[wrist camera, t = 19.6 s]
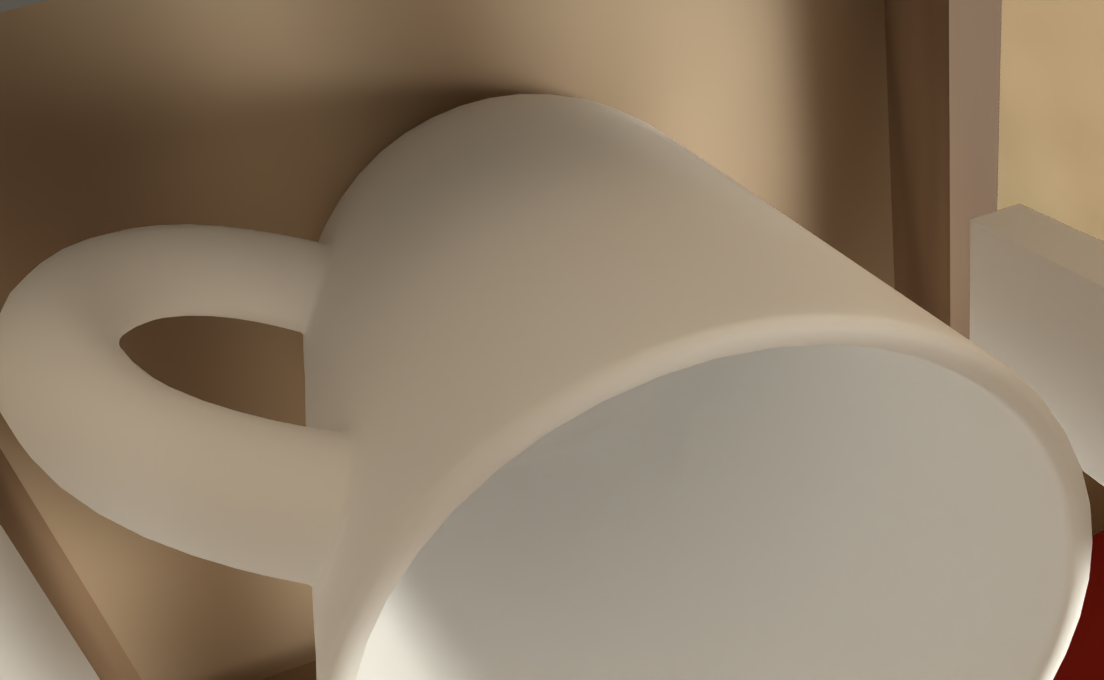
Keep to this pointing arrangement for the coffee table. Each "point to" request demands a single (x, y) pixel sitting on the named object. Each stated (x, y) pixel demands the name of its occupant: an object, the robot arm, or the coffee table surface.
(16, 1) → the lid
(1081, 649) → the red striped arch block
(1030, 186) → the coffee table surface
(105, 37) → the brown wooden frame
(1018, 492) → the mug
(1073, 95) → the coffee table surface
